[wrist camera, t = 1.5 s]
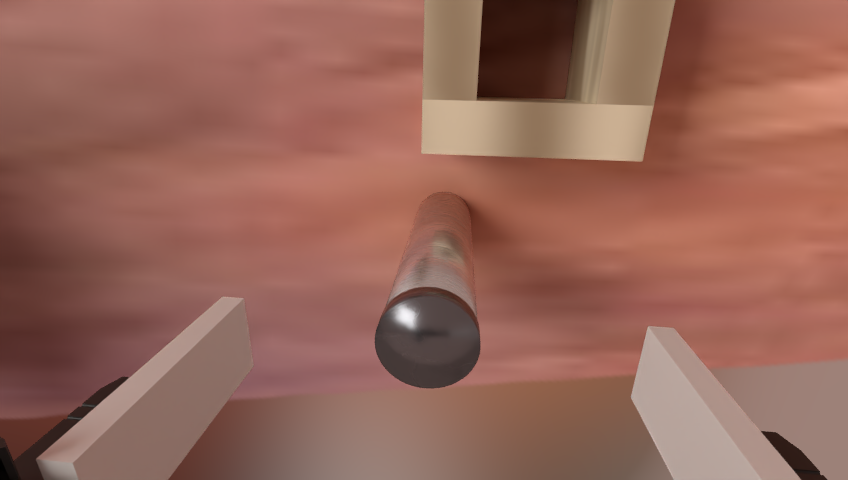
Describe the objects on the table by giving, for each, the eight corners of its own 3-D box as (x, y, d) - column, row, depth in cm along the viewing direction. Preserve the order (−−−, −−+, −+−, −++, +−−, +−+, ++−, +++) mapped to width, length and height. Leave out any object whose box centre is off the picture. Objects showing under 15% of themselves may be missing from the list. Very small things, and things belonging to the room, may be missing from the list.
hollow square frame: (430, 137, 25) (421, 153, 20) (435, -61, 22) (426, -110, 16) (601, 143, 25) (642, 161, 19) (635, -60, 21) (698, -112, 16)
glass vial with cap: (416, 242, 28) (375, 384, 15) (416, 190, 27) (373, 294, 13) (469, 244, 28) (476, 392, 14) (472, 192, 26) (484, 301, 13)
